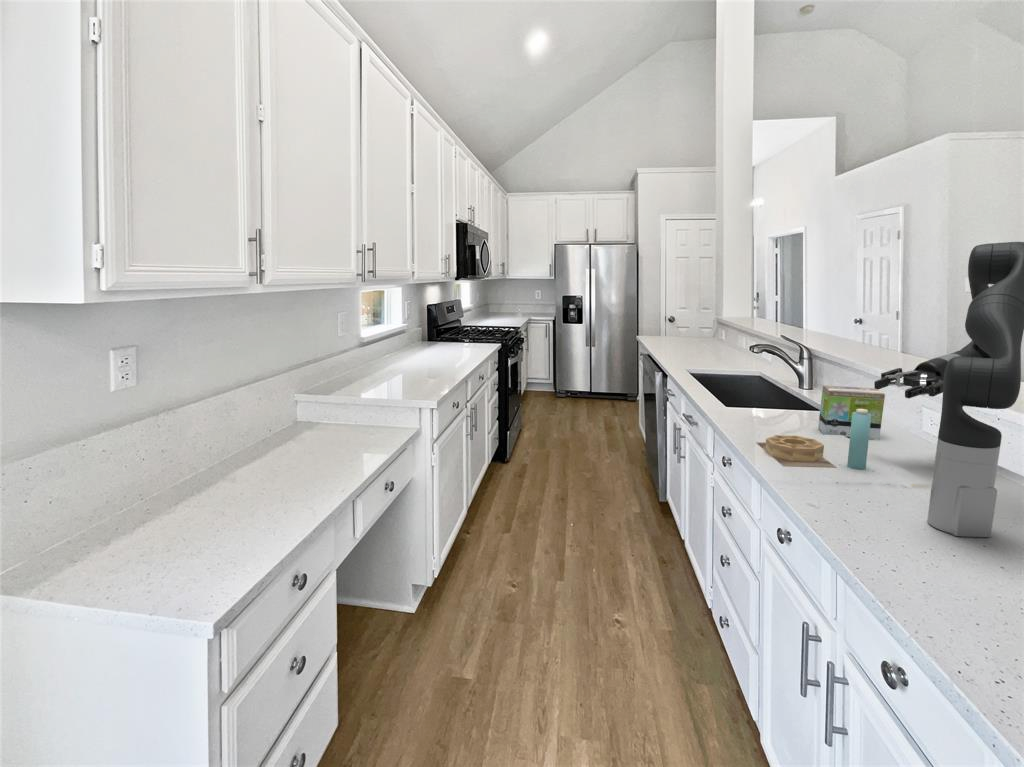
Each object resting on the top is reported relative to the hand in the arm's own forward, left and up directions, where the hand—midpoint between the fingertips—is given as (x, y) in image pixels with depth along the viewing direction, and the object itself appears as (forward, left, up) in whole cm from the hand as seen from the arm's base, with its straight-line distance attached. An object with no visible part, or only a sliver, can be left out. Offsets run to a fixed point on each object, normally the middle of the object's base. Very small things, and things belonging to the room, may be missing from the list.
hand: (890, 390), depth 139 cm
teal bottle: (-2, +7, -21) cm, 22 cm away
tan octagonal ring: (+8, +19, -19) cm, 28 cm away
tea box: (+35, -8, -21) cm, 41 cm away
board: (+8, +19, -21) cm, 29 cm away
